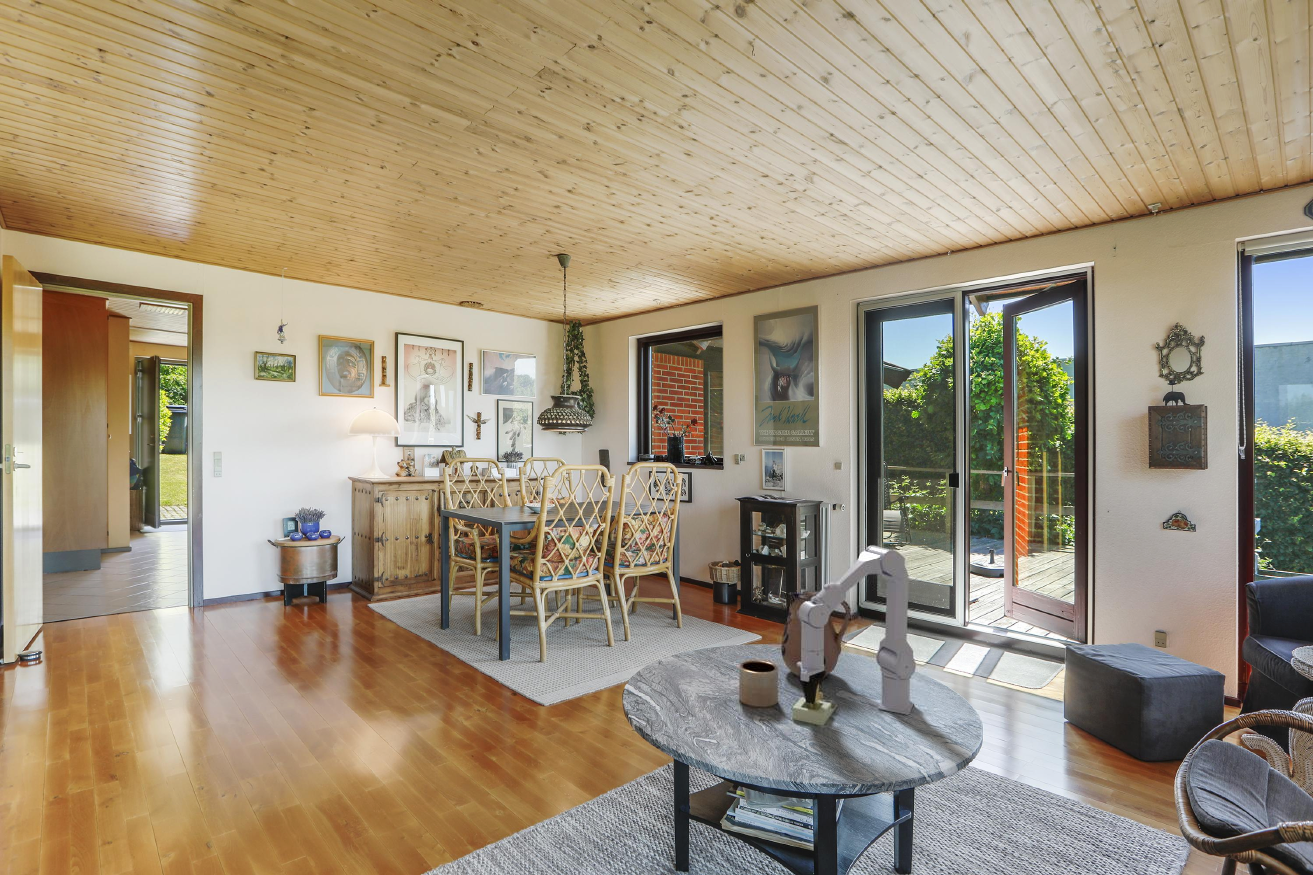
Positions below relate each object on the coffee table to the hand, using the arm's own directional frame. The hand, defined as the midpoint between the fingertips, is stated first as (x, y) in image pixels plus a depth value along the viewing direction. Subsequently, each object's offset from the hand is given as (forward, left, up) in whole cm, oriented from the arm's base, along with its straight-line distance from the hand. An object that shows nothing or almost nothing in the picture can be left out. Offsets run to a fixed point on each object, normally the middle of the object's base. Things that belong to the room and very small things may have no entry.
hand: (812, 700), depth 168 cm
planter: (-3, -16, -5) cm, 17 cm away
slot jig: (-3, 0, -4) cm, 5 cm away
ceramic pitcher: (-32, -8, -4) cm, 33 cm away
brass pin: (0, 0, -2) cm, 3 cm away
